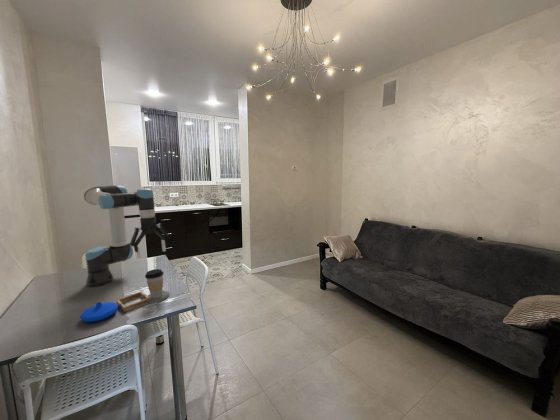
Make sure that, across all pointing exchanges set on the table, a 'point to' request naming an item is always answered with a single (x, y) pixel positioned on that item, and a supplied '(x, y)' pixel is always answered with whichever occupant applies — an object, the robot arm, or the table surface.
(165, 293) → the grey round plate
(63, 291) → the table surface
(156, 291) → the coffee cup
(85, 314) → the blue spouted lid
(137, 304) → the wooden square frame
